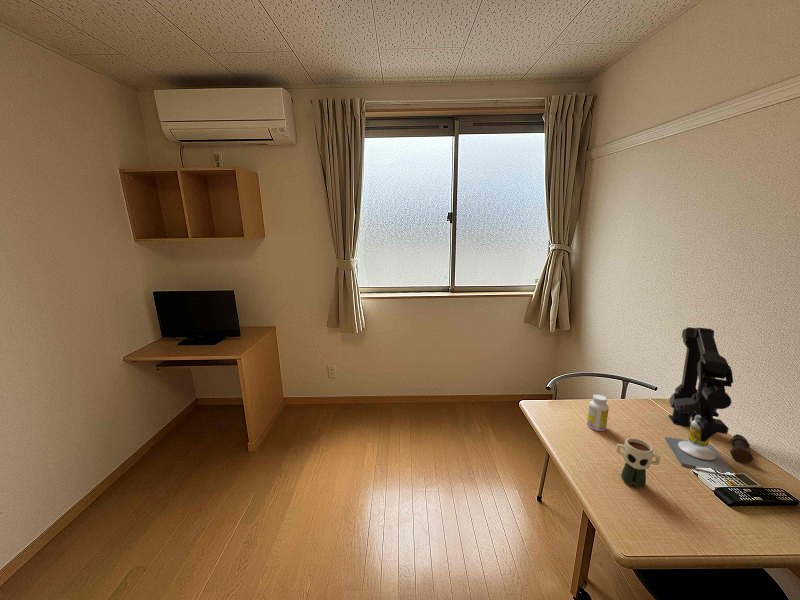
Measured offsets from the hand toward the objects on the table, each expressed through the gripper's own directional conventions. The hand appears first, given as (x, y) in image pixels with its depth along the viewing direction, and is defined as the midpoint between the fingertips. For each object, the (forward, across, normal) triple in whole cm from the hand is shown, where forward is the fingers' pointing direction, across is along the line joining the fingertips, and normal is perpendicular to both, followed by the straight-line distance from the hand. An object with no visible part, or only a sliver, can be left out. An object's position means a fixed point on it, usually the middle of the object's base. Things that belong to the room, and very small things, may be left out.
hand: (699, 436), depth 118 cm
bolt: (+7, -7, +15) cm, 18 cm away
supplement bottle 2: (+3, 0, 0) cm, 3 cm away
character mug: (+7, +25, -24) cm, 35 cm away
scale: (+7, +2, 0) cm, 7 cm away
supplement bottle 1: (+7, -5, -30) cm, 31 cm away
